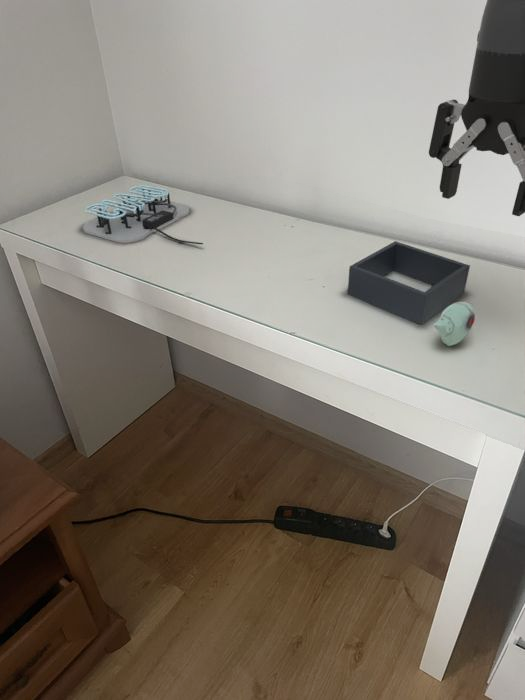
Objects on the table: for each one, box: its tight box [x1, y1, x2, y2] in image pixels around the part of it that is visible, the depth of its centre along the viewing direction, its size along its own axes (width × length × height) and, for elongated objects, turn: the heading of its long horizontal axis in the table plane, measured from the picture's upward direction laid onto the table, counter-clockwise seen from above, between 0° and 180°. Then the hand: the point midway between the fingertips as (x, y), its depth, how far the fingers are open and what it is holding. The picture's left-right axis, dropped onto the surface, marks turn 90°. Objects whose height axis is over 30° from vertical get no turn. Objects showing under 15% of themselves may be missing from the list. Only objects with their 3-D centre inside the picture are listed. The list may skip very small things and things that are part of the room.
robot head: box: [433, 301, 476, 347], centre depth 71 cm, size 8×4×7 cm, turn 135°
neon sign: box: [82, 184, 204, 245], centre depth 109 cm, size 21×4×29 cm
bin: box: [347, 240, 471, 326], centre depth 83 cm, size 14×13×5 cm
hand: (482, 204), depth 61 cm, fingers open, 8 cm apart
